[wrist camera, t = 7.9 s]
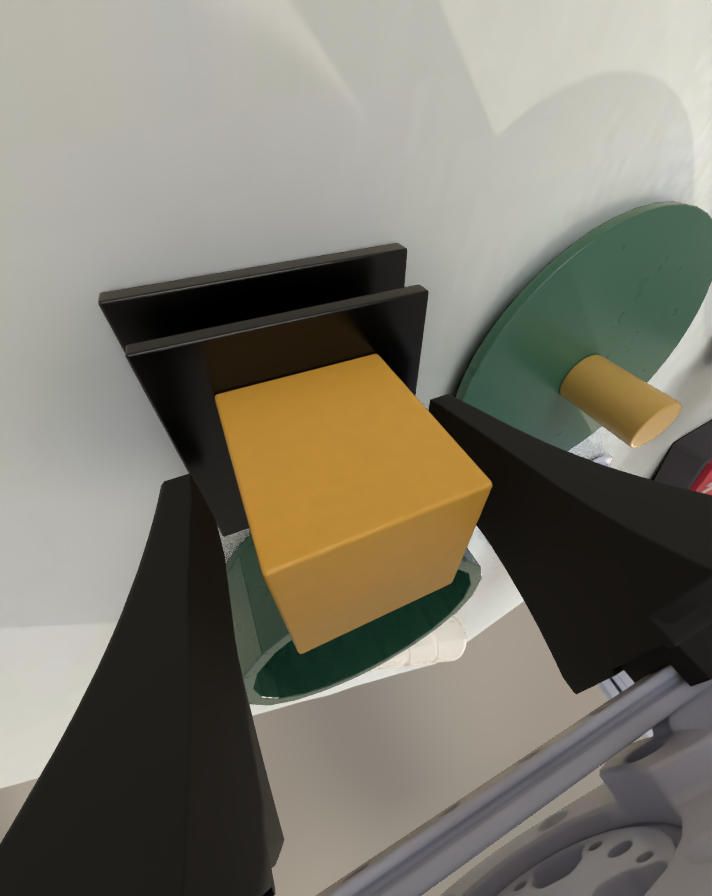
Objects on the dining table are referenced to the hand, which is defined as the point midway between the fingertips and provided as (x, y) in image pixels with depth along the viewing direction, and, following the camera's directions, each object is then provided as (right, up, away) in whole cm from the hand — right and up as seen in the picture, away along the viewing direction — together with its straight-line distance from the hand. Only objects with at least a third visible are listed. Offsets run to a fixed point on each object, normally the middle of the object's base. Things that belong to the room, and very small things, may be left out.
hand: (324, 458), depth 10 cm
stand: (-1, +2, +2) cm, 4 cm away
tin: (0, -6, +12) cm, 14 cm away
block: (-1, +1, +1) cm, 1 cm away
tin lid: (+12, +4, +8) cm, 15 cm away
